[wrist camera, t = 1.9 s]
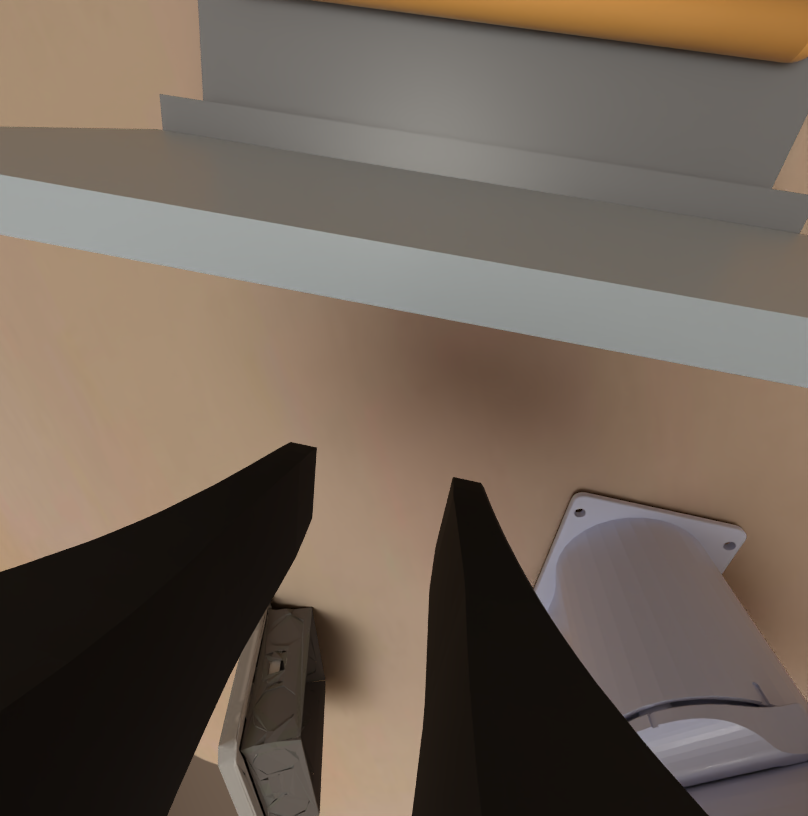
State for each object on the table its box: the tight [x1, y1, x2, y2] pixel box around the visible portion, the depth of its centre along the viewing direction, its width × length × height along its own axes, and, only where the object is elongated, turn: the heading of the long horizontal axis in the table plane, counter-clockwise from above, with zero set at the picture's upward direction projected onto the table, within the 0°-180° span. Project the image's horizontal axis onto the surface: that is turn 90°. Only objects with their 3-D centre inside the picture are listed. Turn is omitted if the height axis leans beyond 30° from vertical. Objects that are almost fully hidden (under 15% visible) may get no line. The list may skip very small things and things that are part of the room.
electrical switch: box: [218, 602, 326, 816], centre depth 25 cm, size 9×5×9 cm, turn 2°
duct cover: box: [0, 127, 808, 388], centre depth 9 cm, size 9×20×1 cm
